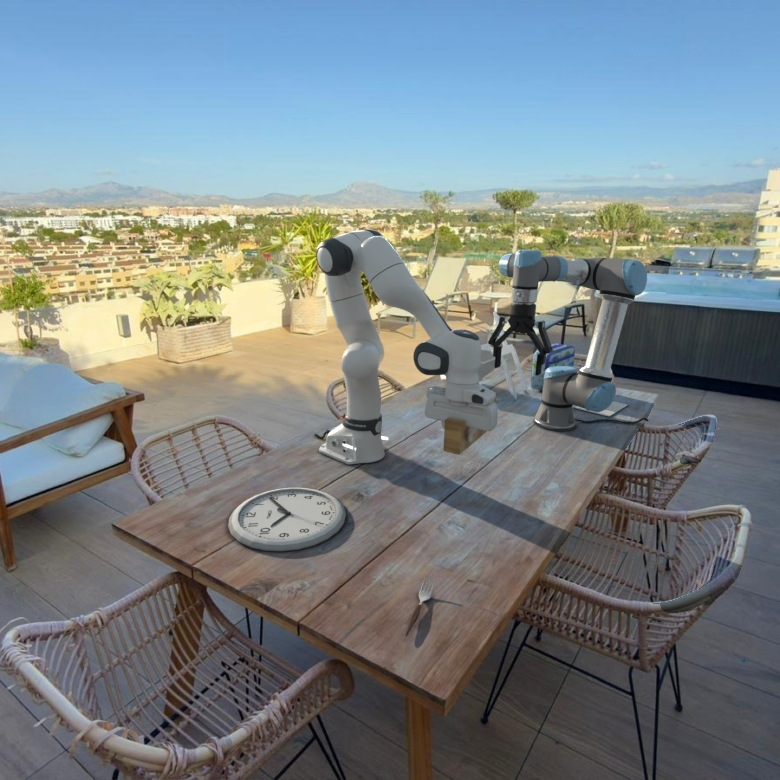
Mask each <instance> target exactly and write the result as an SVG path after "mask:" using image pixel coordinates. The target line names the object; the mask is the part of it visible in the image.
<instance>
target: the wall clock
mask: <svg viewBox="0 0 780 780" xmlns="http://www.w3.org/2000/svg"><path fill="white" fill-rule="evenodd" d="M346 518H347V513H346V509H345V506H344V505H343V503H341V501H340V500H339V499H338V498H336V497H334V496H332V495H331V494H330V493H327V492H324V491H321V490H318V489H313V488H308V487H283V488H277V489H272V490H267V491H264V492H261V493H258V494H255V495H253V496H252V497H250V498H248V499H246V500H244V501H243V502H242V503H240V504H239V505H238V506H237V507H236V508H234V510H233V511H232V513H231V514H230V516H229V518H228V524H227V528H228V530H229V532H230V535H231V536H232V538H234V539H235V540H236V541H237V542H238V543H239V544H242V545H244V546H246V547H249V548H251V549H256V550H261V551H266V552H287V551H288V552H289V551H299V550H302V549H306V548H310V547H313V546H316V545H318V544H320V543H323V542H325V541H328V540H329V539H330V538H332V537H333V536H334V535H336V534H337V533H339V531H340V530H341V528H342V527H343V526H344V524H345V521H346Z"/></svg>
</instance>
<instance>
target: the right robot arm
mask: <svg viewBox="0 0 780 780" xmlns="http://www.w3.org/2000/svg"><path fill="white" fill-rule="evenodd" d="M498 271H499V273H500V275H502V276H503V277H507V278H511V279H512V285H511V286H512V287H511V295H510V301H511V303H510V307H509V317H507V316H506V315H503V316H499V318H500V319H499V324H498V326H497V325H496V327H495V329H494V330H493V333H492V334H491V336H490V338H489V339H488V341H487V343H488V344H489V345H491V346H492V347H493V348H492V350H493V357H495V367H494V368H496V369H498V368H500V367H501V365H502V363H501V352H502V348H503V346H501V345H502V342H503V341H504V340H505V339H506V340H507V339H508V338H509V337H510V336H511V335H512V333H514V334H521V335H527V337H529V338H530V340H531V342H532V343H533V345H534V346H535V348H536V349H537V350H538V351H539V352H540V353H539V354H537V363H536V373H535V375H537V376H538V375H540V374H541V369H542V365H543V364H545V359H546V354H548V353H551V352H552V351H553V349H552V346H551V345H552V344H551V340H550V338H549V335H548V332H547V329H546V321H545V320H536V312H537V305H536V303H537V302H538V291H539V283H541V282H542V283H543V282H553V283H554V282H563V283H564V282H565V283H568V284H570V285H572V286H576V287H582V288H586V289H590V290H594V291H599V295H598V296H599V298H600V299H601V304H600V307H599V311H598V315H597V319H596V323H595V327H594V331H593V334H592V337H591V341H590V345H589V349H588V351H587V352H588V353H587V356H586V360H585V363H584V366H582V367H581V368H579V369H578V368H577V367H575V366H573V367H571V366H555V367H549V368H547V369H546V370H545V375H544V378H543V379H544V381H543V390H541V391H542V394H541V402H540V405H539V407H538V410H537V411H536V413H535V416H534V424H535V425H536V426H537V427H539V428H542V429H544V430H549V431H556V432H567V431H572V430H574V429H575V428H576V422H579V423H585V424H591V423H598V422H612V423H619V424H625V425H635V424H638V423H640V422H642V421H646V422H650V421H649V419H648V418H646V417H642V418H640V419H638V420H636V421H625V420H618V419H612V418H599V419H594V420H584V419H580V418H575V417H576V416H575V413H574V407H576V406H578V407H581V408H584V409H586V410H590V411H594V412H601V411H604V410H605V409H606V408H607V407H609V406H610V404H611V403H612V401H614V400H615V398H616V394H617V386H616V384H615V383H614V382H612V381H613V378H614V376H613V375H612V373H611V372H610V371H611V369H612V364H613V362H614V361H613V360H614V356H615V353H616V350H617V346H618V343H619V338H620V335H621V332H622V328H623V325H624V321H625V317H626V314H627V310H628V306H629V305H630V304H632V303H634V302H635V298H636V297H637V296H640V295H642V293H643V292H644V291H645V290H646V286H647V282H648V272H647V269H646V266H645V264H644V263H643V262H642V261H640V260H637V259H631V258H617V257H616V258H615V257H589V258H580V257H576V258H573V259H566V258H565V257H563V256H560V255H559V256H558V255H542V251H541V250H540V249H518V250H517V251H515V253H506V254H504V255H503V256H501V258H500V260H499V262H498ZM506 324H508V325H509V327H508V328H507V329H506V330H505V331H504V334H503V335H502V336H501V337H500V335H499V334H500V332H501V331H502V329H503V330H504V327H505V325H506ZM535 327H536V329H537V330H538V333H539V336H540V338H541V339H540V338H539V336H538V335H537V333H536V331H535V329H534V328H535ZM498 337H499V338H498ZM500 364H501V365H500ZM573 406H574V407H573Z"/></svg>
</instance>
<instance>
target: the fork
mask: <svg viewBox="0 0 780 780" xmlns="http://www.w3.org/2000/svg"><path fill="white" fill-rule="evenodd" d="M425 579H426V577H424V578H423V581H422V584H421V587H420V590H419V592H418V598H419V599H418V600H419V603H418V605H417V606H416V608H415V609H414V611H413V612H412V615H411V617H410V620H409V623H408V627H407V630H406V632H405V637H407V636H408V635H409V633H410V631H411V629H412V628H413V626H414V625H415V623H416V622H417V620H418V617H419V615H420V611H421V608H422V605H423V603H424V602H426V601H429V600H430V599H431V597H432V596H433V595H432V594H433V590H434V585H435V579H433V582H432V580H429V578H427V579H426V582H425ZM428 581H429V584H428ZM431 583H432V585H431ZM424 584H425V585H424Z"/></svg>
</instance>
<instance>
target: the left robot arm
mask: <svg viewBox="0 0 780 780" xmlns="http://www.w3.org/2000/svg"><path fill="white" fill-rule="evenodd" d="M315 255H316V256H315V259H316V263H317V265H318V267H319V269H320V270H321V271H322V273H324V281H325V288H326V294H327V298H328V301H329V305H330V308H331V312H332V315H333V318H334V322H335V325H336V327H337V329H338V330H339V331H340V333H341V336H342V337H343V339H344V341H345V344H346V347H347V348H346V349H345V350H344V352H343V354H342V357H341V361H340V362H341V363H340V367H341V370H342V373H343V380H344V385H345V392H346V393H345V394H346V412H345V413H343V414H342V415H340V416H339V420H340V421H341V420H342V423H340V424H339V425H335V426H333V427H331V428H328V429H326V431H324V433H323V434H322V435H319V434H317V433H315V434H314V436H315V437H316V438H318V439H320V440H321V439H325V438H326V439H325V442H324V443H322V445H320V447H319V449H318V452H319V453H320V454H322V455H325V456H327V457H329V458H332V459H334V460H336V461H338V462H341V463H343V464H346V465H356V464H370V463H375V462H378V461H380V460H382V459H383V458H384V457H385V456H386V451H385V449H384V444H383V440H385V441H389V437H388V436H383V435H382V428H383V415H382V413H381V410H382V408H381V407H382V406H381V405H382V391H381V388H380V380H379V368H380V365H381V364H382V362H383V361H384V358H385V347H384V343H383V342H382V340H381V337H380V335H379V332H378V330H377V327H376V326H375V324H374V320H373V319H372V316H371V313H370V312H371V311H370V309H369V305H368V302H367V298H366V294H365V290H364V287H363V285H362V280H361V274H362V273H363V275H364V276H365V278H366V280H367V283H368V284H369V286H370V287H371V289H372V291H373V293H374V295H375V296H376V297H377V298H378V299H379V300H380V301H381V303H383V305H386V306H388V307H391V308H395V309H400V310H403V311H405V312H407V313H409V314H411V315H413V317H414V318H415V319H416V320H417V321H418V323H419V324H420V326H421V327H422V329H423V330H424V331H425V333H426V334H427V336H428V337H429V339H427V340H424V341H422V342H421V343H419V344H417V346H416V347H415V349H414V351H413V357H412V358H413V363H414V366H415V368H416V369H417V371H419V372H420V373H421V374H423V375H425V376H440V375H445V376H446V385H445V384H444V386H437V385H431V386H429V387H427V389H426V401H425V406H424V415H425V416H426V418H428V419H432V420H436V421H441V423H440V424H441V426H442V428H443V430H445V420H446V419H447V418H449V417H451V418H456V419H460V420H465V426H467V427H470V431H471V433H470V434H467V435H466V437H465V438H466V439H465V441H468V442H471V441H472V439H473V434H474V433H475V432H476V430H477V429H480V430H485V431H487V432H492V431H493V430H495V428H496V427H497V425H498V406H497V403H496V404H495V402H494V399H495V398H496V397H497V394H496V392H495V391H493V390H491V389H489V388H487V387H486V386H484V385H482V384H480V382H479V376H478V371H479V368H480V363H481V345H482V344H481V339H480V337H479V335H478V334H477V333H476V332H474V331H471V330H468V329H461V328H456V329H452V328H451V327H450V326H449V324H448V323H447V321H446V320H445V319H444V317H443V315H442V314H441V313H440V311H439V310H438V308H437V307H436V306H435V305H434V303H433V301H432V300H431V298H430V297H429V296H428V295H427V293H426V292H425V291H424V290H423V288H422V287H421V286H420V285H419V284H418V283H417V281H416V280H415V278H414V277H413V275H412V274H411V272H410V271H409V269H408V267H407V266H406V264H405V262H404V260H403V259H402V258H401V256H400V254H399V253H398V251H397V250H396V249H395V247H394V246H393V245H392V244H391V243H390V242H389V240H388V239H387V238H386V237H384V236H383V234H382V233H381V232H380V231H378V230H376V229H372V228H371V229H370V228H368V229H367V228H365V229H362V230H354V231H348V232H346V233H342V234H340V235H336V236H334V237H329V238H327V239H325V240H323V241H321V242H320V243H319V244H318V245H317V248H316V253H315ZM496 399H497V398H496ZM326 435H327V436H326Z"/></svg>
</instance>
